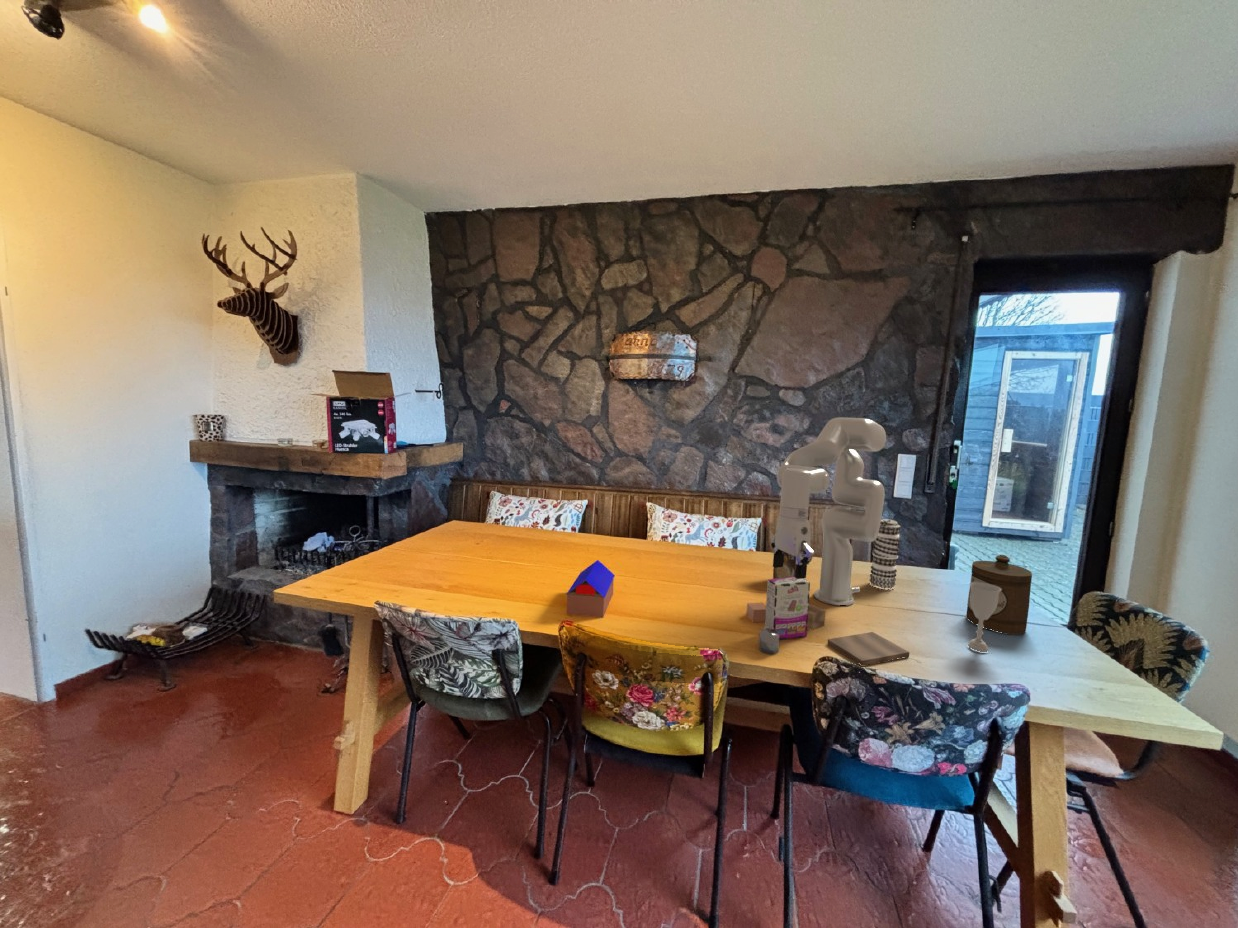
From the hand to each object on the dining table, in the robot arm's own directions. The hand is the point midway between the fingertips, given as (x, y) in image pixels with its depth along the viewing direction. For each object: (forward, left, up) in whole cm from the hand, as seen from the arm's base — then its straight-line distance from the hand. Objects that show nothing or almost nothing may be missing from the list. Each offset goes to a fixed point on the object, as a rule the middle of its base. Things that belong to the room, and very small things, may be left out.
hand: (788, 572), depth 139 cm
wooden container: (-69, +12, -19) cm, 73 cm away
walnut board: (-16, +14, -19) cm, 29 cm away
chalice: (-47, +22, -19) cm, 56 cm away
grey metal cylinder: (+10, +6, -19) cm, 22 cm away
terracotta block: (+1, -12, -19) cm, 23 cm away
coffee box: (-28, -35, -19) cm, 49 cm away
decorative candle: (-61, -23, -19) cm, 68 cm away
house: (+47, -37, -19) cm, 63 cm away
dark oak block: (-12, -4, -19) cm, 23 cm away
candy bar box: (0, 0, -19) cm, 19 cm away
